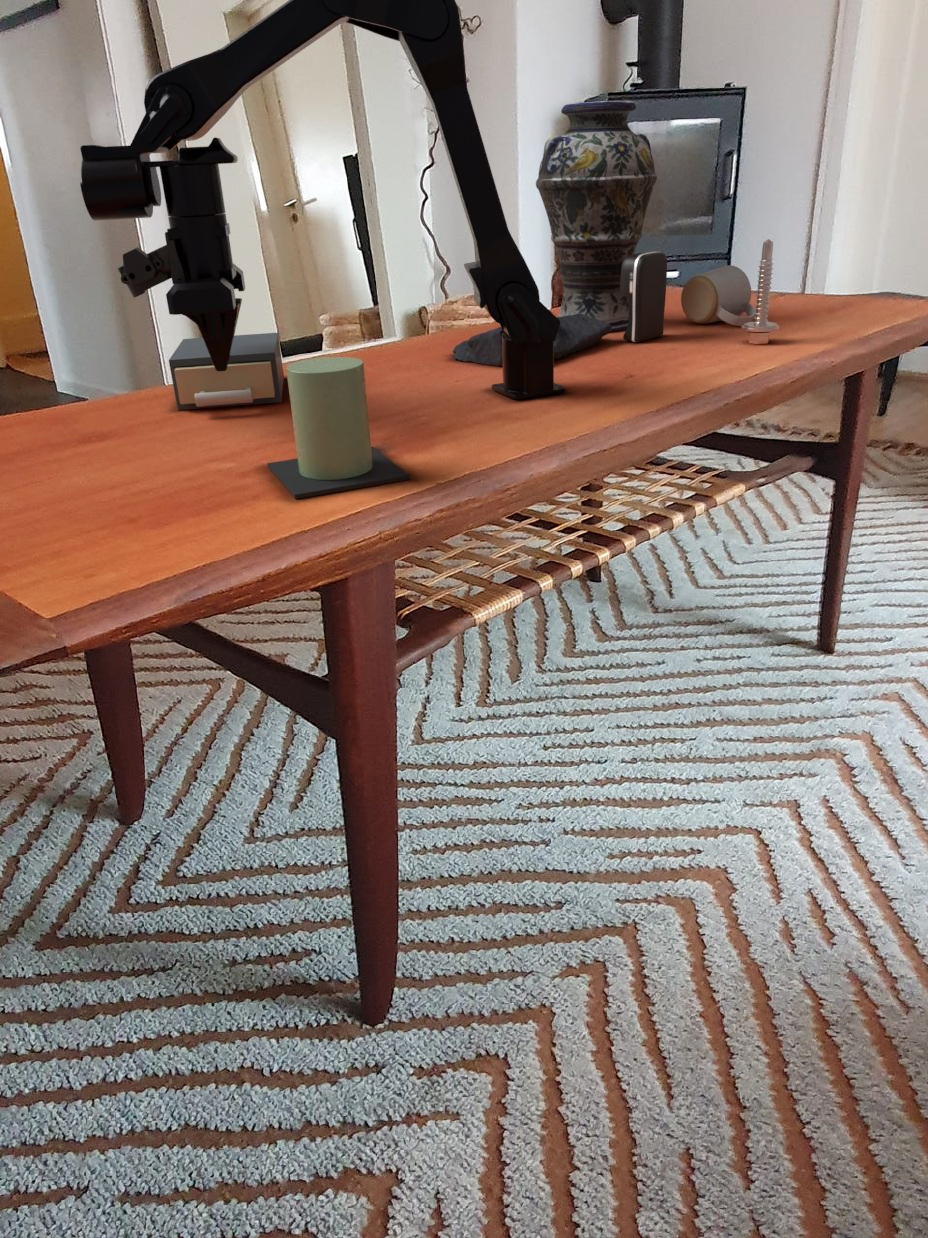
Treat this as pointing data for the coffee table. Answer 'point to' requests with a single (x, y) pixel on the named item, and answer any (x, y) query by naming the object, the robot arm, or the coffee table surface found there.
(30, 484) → the coffee table surface
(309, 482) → the coaster
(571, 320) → the dark slate chunk
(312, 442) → the can
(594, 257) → the vase
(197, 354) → the cabinet
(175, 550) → the coffee table surface
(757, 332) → the screw
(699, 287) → the ceramic mug
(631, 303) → the battery charger
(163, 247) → the robot arm
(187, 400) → the drawer
